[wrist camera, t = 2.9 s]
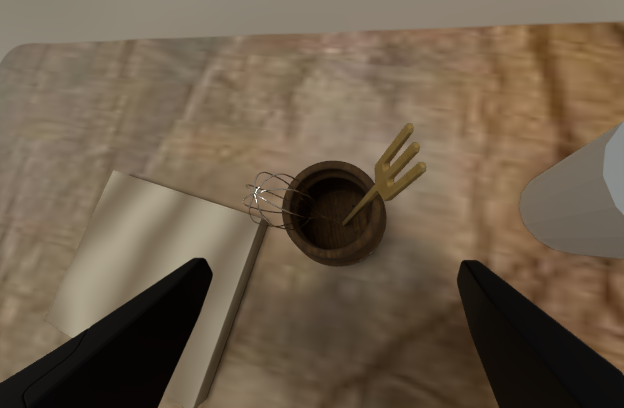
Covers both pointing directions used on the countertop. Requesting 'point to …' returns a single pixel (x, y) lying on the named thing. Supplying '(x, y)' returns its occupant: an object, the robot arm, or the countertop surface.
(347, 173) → the utensil holder
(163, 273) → the ash cloth
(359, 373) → the countertop surface
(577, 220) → the white cup
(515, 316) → the robot arm
